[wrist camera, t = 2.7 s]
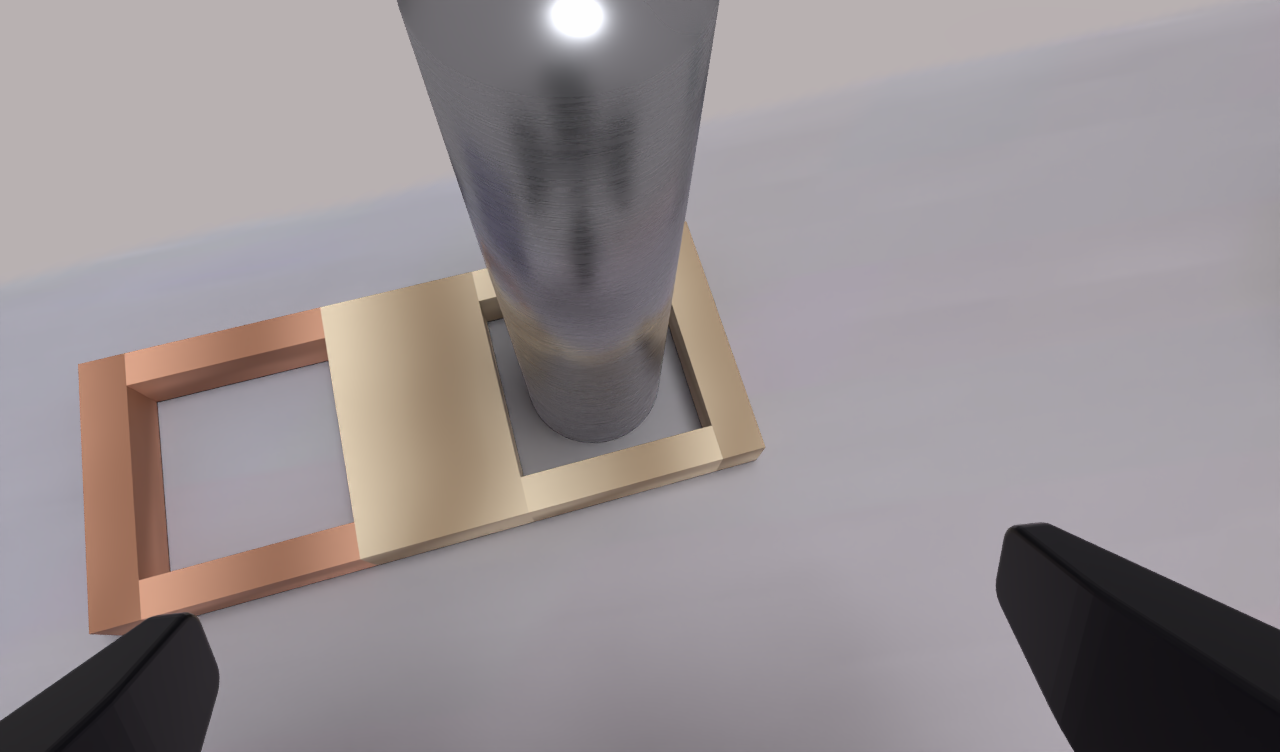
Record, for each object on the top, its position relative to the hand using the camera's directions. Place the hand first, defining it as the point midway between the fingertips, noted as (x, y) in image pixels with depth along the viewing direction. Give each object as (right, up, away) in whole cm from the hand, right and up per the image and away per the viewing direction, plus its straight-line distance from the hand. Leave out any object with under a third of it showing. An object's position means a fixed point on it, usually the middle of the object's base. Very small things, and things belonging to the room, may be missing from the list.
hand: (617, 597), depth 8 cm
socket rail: (-6, +1, +14) cm, 15 cm away
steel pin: (-1, +2, +15) cm, 15 cm away
